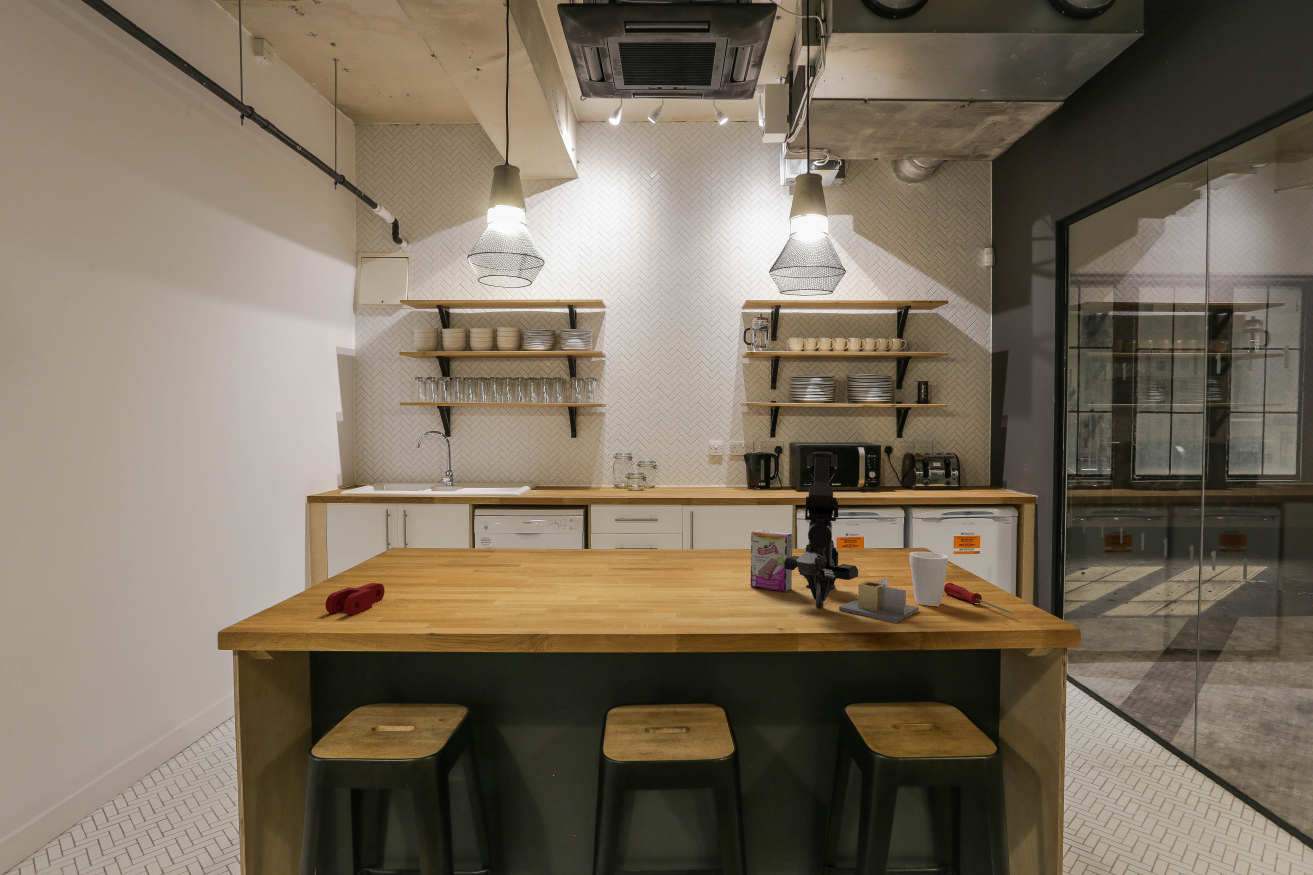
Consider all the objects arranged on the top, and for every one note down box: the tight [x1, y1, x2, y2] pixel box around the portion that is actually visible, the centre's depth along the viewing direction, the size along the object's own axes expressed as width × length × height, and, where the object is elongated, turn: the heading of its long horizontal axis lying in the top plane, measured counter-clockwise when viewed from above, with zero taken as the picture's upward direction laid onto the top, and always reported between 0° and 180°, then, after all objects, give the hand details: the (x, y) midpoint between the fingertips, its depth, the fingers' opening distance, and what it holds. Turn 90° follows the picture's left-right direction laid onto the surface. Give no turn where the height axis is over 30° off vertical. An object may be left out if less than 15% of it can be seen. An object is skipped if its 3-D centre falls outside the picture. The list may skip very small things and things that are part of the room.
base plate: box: [838, 598, 920, 624], centre depth 165 cm, size 15×14×1 cm
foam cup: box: [909, 551, 949, 605], centre depth 172 cm, size 10×9×13 cm
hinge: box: [857, 578, 907, 615], centre depth 164 cm, size 11×11×6 cm
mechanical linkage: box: [325, 582, 385, 616], centre depth 166 cm, size 16×7×5 cm, turn 166°
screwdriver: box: [943, 582, 1015, 615], centre depth 170 cm, size 4×25×4 cm, turn 11°
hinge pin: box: [815, 575, 825, 609], centre depth 168 cm, size 2×2×8 cm
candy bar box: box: [750, 529, 793, 593], centre depth 187 cm, size 11×5×16 cm, turn 58°
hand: (819, 600), depth 168 cm, fingers closed on hinge pin, 2 cm apart
